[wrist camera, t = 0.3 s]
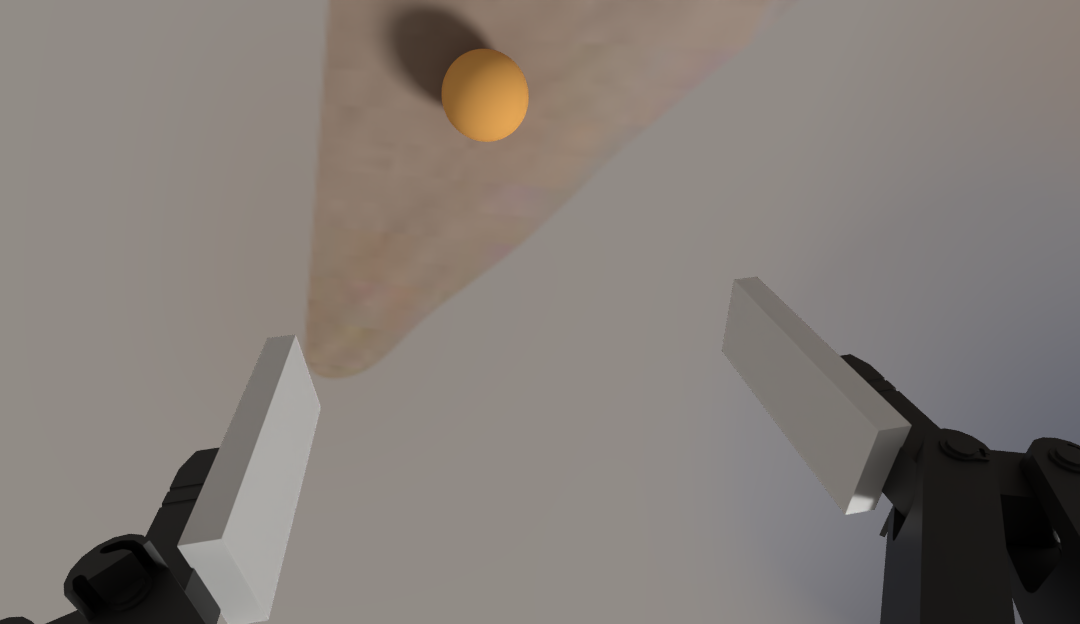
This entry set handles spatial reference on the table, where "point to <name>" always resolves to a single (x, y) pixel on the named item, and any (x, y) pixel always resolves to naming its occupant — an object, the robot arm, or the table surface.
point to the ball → (485, 95)
